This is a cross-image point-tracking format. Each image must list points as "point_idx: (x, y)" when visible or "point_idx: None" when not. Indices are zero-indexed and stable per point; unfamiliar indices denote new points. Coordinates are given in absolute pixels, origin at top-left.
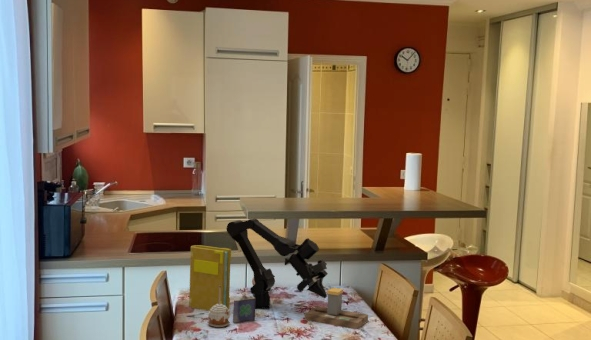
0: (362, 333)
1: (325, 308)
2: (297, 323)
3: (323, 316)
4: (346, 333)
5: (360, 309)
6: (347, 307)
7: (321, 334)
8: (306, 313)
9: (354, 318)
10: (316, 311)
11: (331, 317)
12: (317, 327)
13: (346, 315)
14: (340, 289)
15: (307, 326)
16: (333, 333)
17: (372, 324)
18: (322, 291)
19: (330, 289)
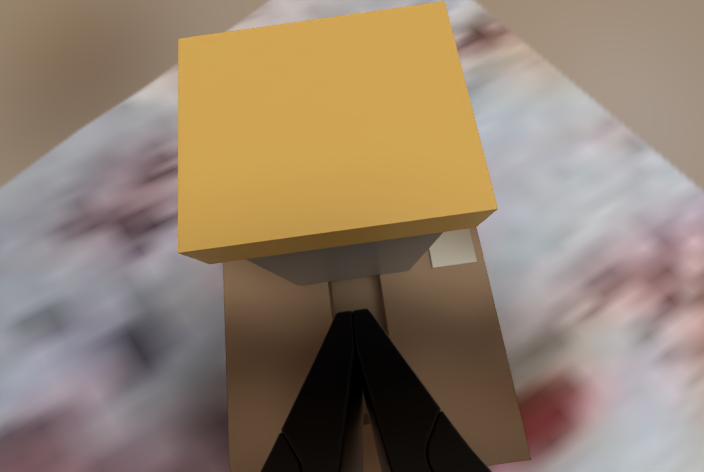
0: (460, 8)
1: (257, 379)
2: (627, 433)
3: (478, 267)
4: (528, 66)
5: (12, 222)
6: (3, 323)
7: (668, 162)
8: (520, 446)
9: None
10: None
11: None
12: (577, 254)
13: None
14: (222, 65)
15: (618, 324)
16: (590, 118)
17: None
18: (415, 377)
19: (355, 205)
